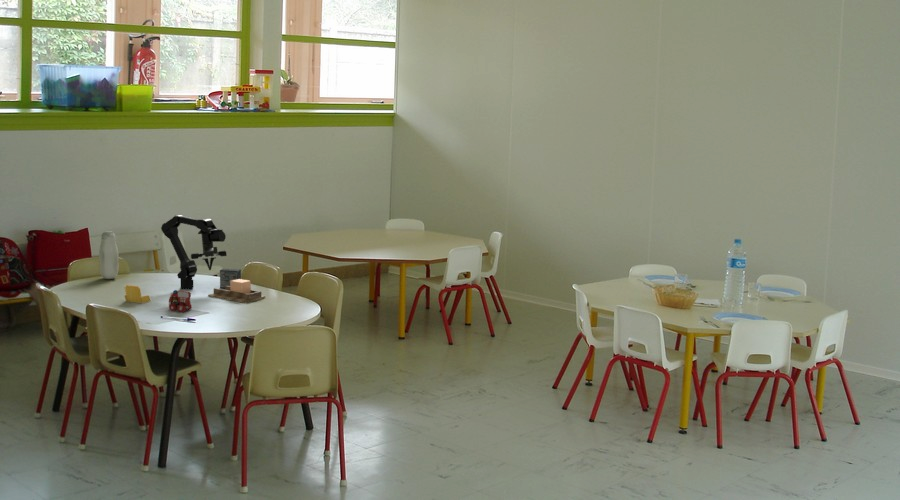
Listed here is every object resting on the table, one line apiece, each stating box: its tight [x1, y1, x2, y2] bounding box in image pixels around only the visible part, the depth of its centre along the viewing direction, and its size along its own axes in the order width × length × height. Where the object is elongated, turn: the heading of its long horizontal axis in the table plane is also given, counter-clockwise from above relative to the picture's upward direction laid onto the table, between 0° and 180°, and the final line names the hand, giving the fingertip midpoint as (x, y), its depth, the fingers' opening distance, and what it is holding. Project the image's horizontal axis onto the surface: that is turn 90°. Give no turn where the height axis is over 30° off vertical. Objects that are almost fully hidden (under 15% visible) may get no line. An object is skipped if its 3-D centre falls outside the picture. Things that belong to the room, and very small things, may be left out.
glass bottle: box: [98, 230, 120, 280], centre depth 567 cm, size 10×10×28 cm
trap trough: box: [207, 286, 266, 304], centre depth 531 cm, size 26×16×4 cm, turn 60°
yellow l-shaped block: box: [124, 284, 151, 304], centre depth 513 cm, size 10×10×9 cm
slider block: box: [230, 278, 252, 294], centre depth 529 cm, size 8×7×8 cm
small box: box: [219, 268, 242, 289], centre depth 555 cm, size 11×6×10 cm, turn 84°
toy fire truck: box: [168, 289, 193, 314], centre depth 495 cm, size 7×12×10 cm, turn 69°
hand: (210, 270), depth 542 cm, fingers closed
